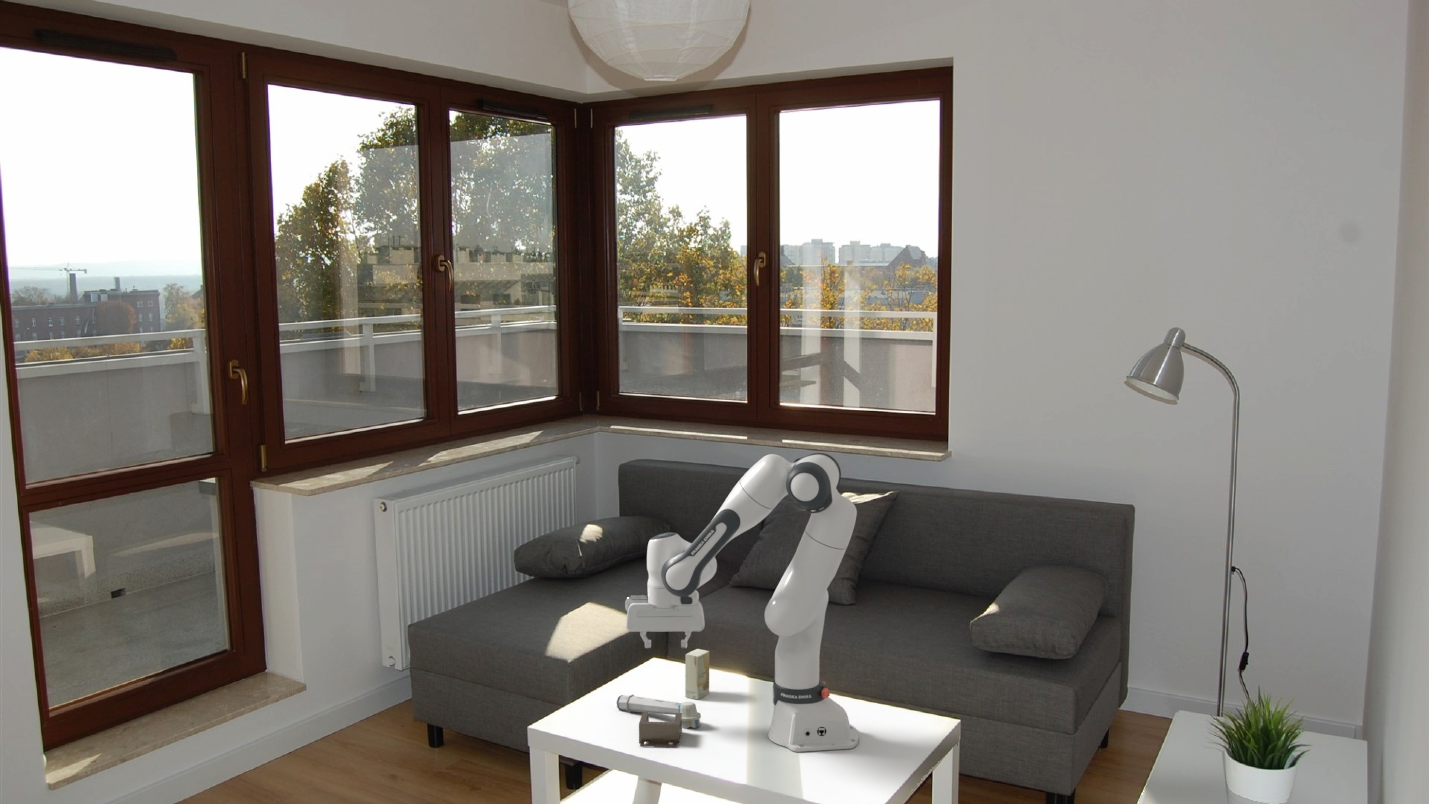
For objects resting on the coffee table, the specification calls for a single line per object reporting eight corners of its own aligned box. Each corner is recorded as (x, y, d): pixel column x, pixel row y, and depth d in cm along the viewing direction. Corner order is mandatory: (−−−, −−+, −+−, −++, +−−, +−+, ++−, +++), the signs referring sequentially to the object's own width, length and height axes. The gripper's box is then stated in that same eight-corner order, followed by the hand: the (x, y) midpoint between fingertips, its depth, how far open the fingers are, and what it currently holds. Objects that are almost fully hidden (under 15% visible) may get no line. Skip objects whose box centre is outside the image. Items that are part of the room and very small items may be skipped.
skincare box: (697, 700, 294) (697, 657, 293) (684, 697, 296) (684, 654, 295) (710, 693, 300) (710, 650, 298) (697, 690, 302) (697, 647, 301)
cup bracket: (682, 732, 272) (681, 713, 272) (678, 747, 263) (678, 727, 263) (642, 731, 273) (642, 712, 273) (638, 746, 264) (637, 727, 263)
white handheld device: (626, 691, 291) (702, 697, 277) (629, 715, 291) (705, 722, 277) (614, 697, 286) (691, 703, 273) (617, 722, 286) (694, 729, 273)
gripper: (623, 598, 275) (624, 651, 276) (702, 598, 274) (703, 651, 275) (626, 592, 281) (628, 643, 282) (704, 591, 280) (705, 643, 281)
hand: (666, 647), depth 279 cm, fingers open, 8 cm apart
